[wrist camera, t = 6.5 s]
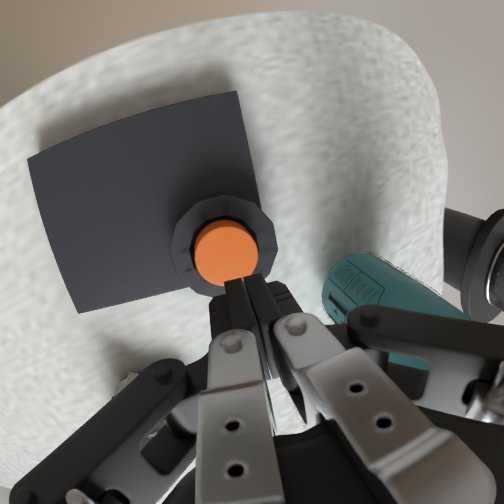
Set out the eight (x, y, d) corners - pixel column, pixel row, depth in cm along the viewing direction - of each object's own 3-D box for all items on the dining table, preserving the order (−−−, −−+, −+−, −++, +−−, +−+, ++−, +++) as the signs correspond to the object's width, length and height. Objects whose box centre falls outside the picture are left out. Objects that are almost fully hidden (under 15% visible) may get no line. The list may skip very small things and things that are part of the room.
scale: (236, 95, 18) (244, 83, 15) (271, 264, 23) (284, 283, 19) (38, 158, 17) (14, 160, 13) (89, 310, 21) (75, 333, 18)
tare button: (246, 213, 18) (251, 219, 16) (257, 267, 19) (263, 277, 17) (187, 227, 17) (187, 235, 16) (203, 281, 19) (204, 293, 17)
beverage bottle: (299, 270, 23) (481, 487, 5) (366, 229, 23) (584, 359, 5) (327, 326, 26) (460, 509, 7) (386, 288, 26) (546, 424, 7)
